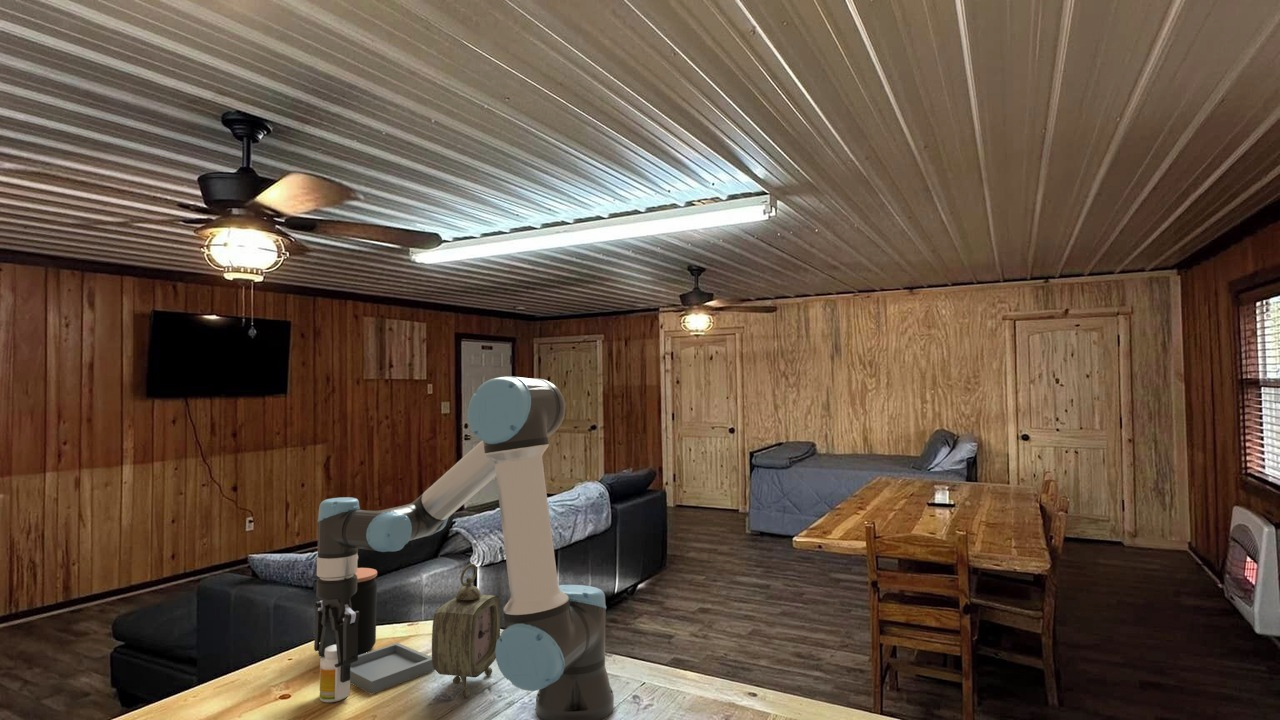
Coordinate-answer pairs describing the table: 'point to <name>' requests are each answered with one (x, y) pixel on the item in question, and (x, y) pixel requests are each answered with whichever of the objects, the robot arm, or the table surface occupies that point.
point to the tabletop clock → (466, 633)
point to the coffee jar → (365, 608)
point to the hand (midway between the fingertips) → (334, 692)
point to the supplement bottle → (328, 675)
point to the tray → (388, 667)
